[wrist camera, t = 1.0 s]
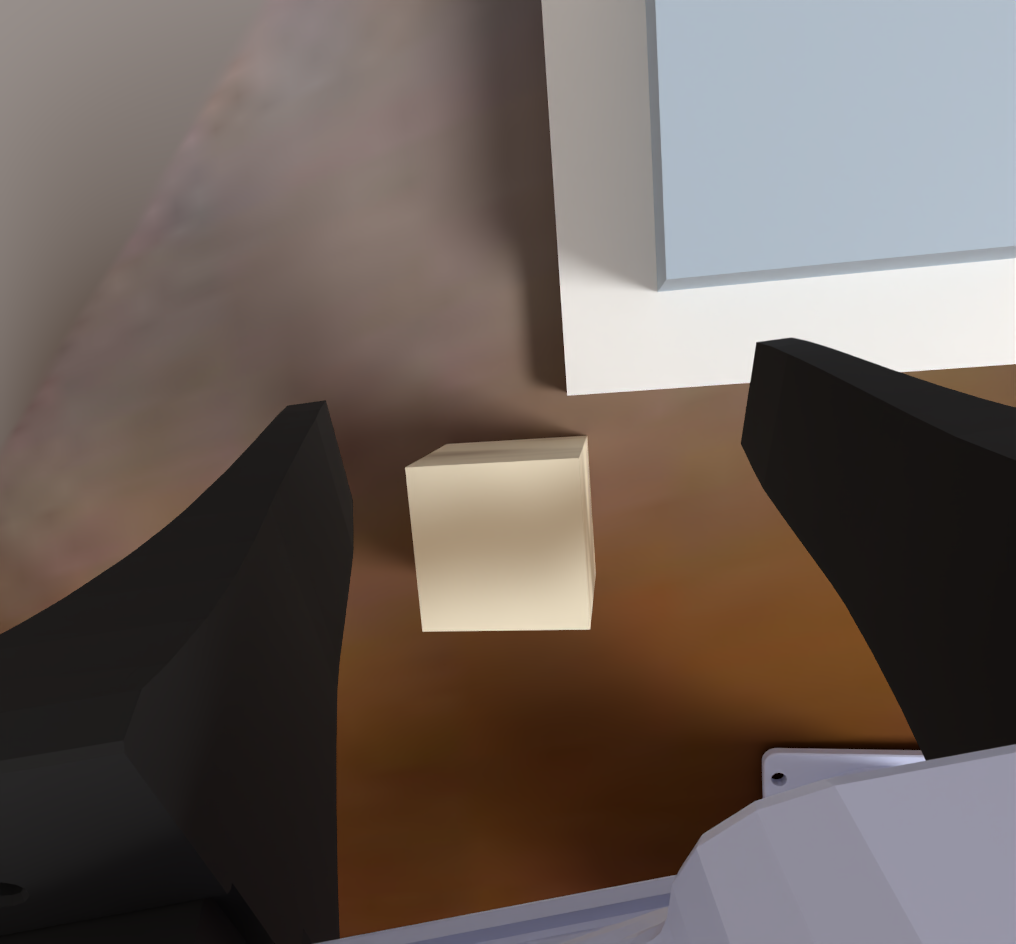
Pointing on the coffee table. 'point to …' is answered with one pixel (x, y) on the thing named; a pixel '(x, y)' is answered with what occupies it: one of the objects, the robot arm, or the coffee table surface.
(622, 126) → the plinth base
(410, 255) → the coffee table surface
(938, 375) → the coffee table surface
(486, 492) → the birch cube
